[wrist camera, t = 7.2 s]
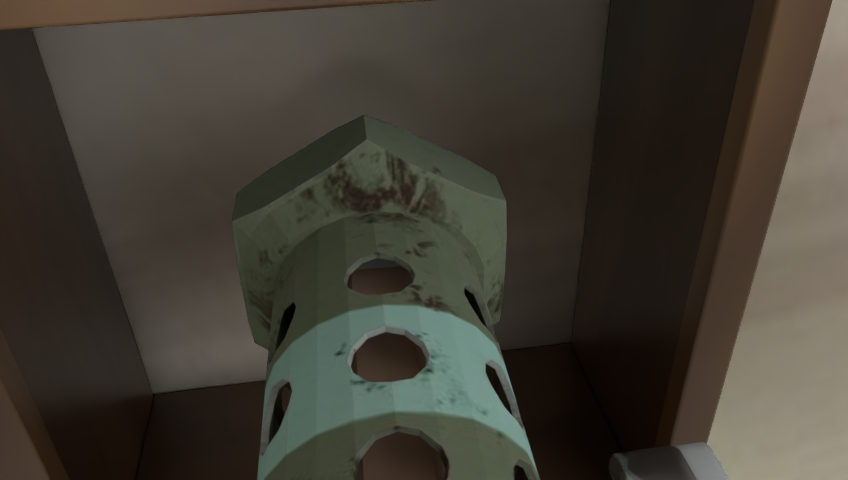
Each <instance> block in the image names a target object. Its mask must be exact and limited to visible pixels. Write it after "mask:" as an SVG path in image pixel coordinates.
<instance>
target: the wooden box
mask: <svg viewBox="0 0 848 480" xmlns="http://www.w3.org/2000/svg"><path fill="white" fill-rule="evenodd" d="M416 1H431V0H0V480H257V476H258V464H259V453H260V445H261V431H262V419H263V408H264V397H265V385H266V381H263V382H255V383H247V384H238V385H230V386H222V387H214V388H206V389H198V390H190V391H182V392H174V393H166V394H158V395H154V398H153V395H152V392H151V388H150V385H149V382H148V379H147V376H146V373H145V370H144V367H143V364H142V361H141V358H140V355H139V352H138V349H137V346H136V343H135V340H134V337H133V334H132V331H131V328H130V325H129V322H128V319H127V316H126V313H125V310H124V307H123V304H122V301H121V298H120V295H119V292H118V289H117V286H116V283H115V280H114V277H113V274H112V271H111V268H110V265H109V262H108V259H107V256H106V253H105V250H104V247H103V244H102V241H101V238H100V235H99V232H98V229H97V226H96V223H95V220H94V217H93V214H92V211H91V208H90V205H89V202H88V199H87V196H86V193H85V190H84V187H83V184H82V181H81V178H80V175H79V172H78V168H77V165H76V162H75V159H74V156H73V153H72V150H71V147H70V144H69V141H68V138H67V135H66V132H65V129H64V126H63V123H62V120H61V117H60V114H59V111H58V108H57V105H56V102H55V99H54V96H53V93H52V90H51V87H50V84H49V81H48V78H47V75H46V72H45V69H44V66H43V63H42V60H41V57H40V54H39V51H38V48H37V45H36V42H35V39H34V36H33V33H32V30H31V28H42V27H56V26H70V25H85V24H99V23H114V22H128V21H142V20H157V19H171V18H186V17H200V16H215V15H229V14H243V13H258V12H272V11H287V10H301V9H315V8H330V7H344V6H359V5H373V4H387V3H402V2H416ZM831 4H832V0H611V7H610V15H609V24H608V33H607V41H606V50H605V59H604V67H603V76H602V85H601V93H600V102H599V111H598V119H597V128H596V137H595V145H594V154H593V162H592V171H591V180H590V188H589V197H588V206H587V214H586V223H585V232H584V240H583V249H582V258H581V266H580V275H579V284H578V292H577V301H576V310H575V318H574V327H573V335H572V344H561V345H552V346H544V347H536V348H528V349H520V350H512V351H504V352H501V353H502V356H503V359H504V363H505V366H506V369H507V373H508V376H509V379H510V382H511V386H512V389H513V392H514V396H515V399H516V402H517V406H518V410H519V414H520V417H521V420H522V423H523V425H524V429H525V432H526V435H527V439H528V442H529V445H530V448H531V452H532V455H533V458H534V462H535V465H536V468H537V472H538V475H539V478H540V480H612V478H611V475H610V473H609V470H608V465H609V460H610V457H611V456H612V455H613V454H614V453H621V452H628V451H635V450H642V449H649V448H656V447H662V446H669V445H671V446H677V445H684V444H690V443H697V442H705V443H706V444H707V441H708V437H709V434H710V430H711V427H712V423H713V420H714V416H715V413H716V409H717V406H718V402H719V399H720V395H721V392H722V388H723V385H724V381H725V378H726V374H727V370H728V367H729V363H730V360H731V356H732V353H733V349H734V346H735V342H736V339H737V335H738V332H739V328H740V325H741V321H742V318H743V314H744V310H745V307H746V303H747V300H748V296H749V293H750V289H751V286H752V282H753V279H754V275H755V272H756V268H757V265H758V261H759V258H760V254H761V251H762V247H763V243H764V240H765V236H766V233H767V229H768V226H769V222H770V219H771V215H772V212H773V208H774V205H775V201H776V198H777V194H778V191H779V187H780V184H781V180H782V176H783V173H784V169H785V166H786V162H787V159H788V155H789V152H790V148H791V145H792V141H793V138H794V134H795V131H796V127H797V124H798V120H799V116H800V113H801V109H802V106H803V102H804V99H805V95H806V92H807V88H808V85H809V81H810V78H811V74H812V71H813V67H814V64H815V60H816V57H817V53H818V49H819V46H820V42H821V39H822V35H823V32H824V28H825V25H826V21H827V18H828V14H829V11H830V7H831ZM486 375H487V372H486ZM487 377H488V375H487ZM291 394H292V393H291V392H290V391H289V390H288V389H287V388H286V387H285V386H283V390H282V407H283V411H284V414H285V413H286V410H287V408H288V405H289V401H290V398H291Z"/></svg>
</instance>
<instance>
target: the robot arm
mask: <svg viewBox="0 0 848 480" xmlns="http://www.w3.org/2000/svg"><path fill="white" fill-rule="evenodd" d="M608 470H609V473H610V475H611V478H612V480H730V479H729V477H728V475H727V474H726V472H725V470H724V469H723V467H722V465H721V464H720V462H719V460H718V459H717V457H716V455H715V454H714V452H713V450H712V449H711V447H710V446H709V445H707V444H706V443H705V442H697V443H690V444H684V445H677V446H671V445H669V446H662V447H656V448H649V449H642V450H635V451H628V452H621V453H614V454H613V455H612V456H611V457H610V460H609V465H608Z"/></svg>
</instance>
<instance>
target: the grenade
mask: <svg viewBox="0 0 848 480" xmlns="http://www.w3.org/2000/svg"><path fill="white" fill-rule="evenodd" d="M232 228H233V236H234V243H235V251H236V258H237V264H238V269H239V274H240V280H241V285H242V290H243V295H244V300H245V305H246V310H247V316H248V321H249V324H250V328H251V331H252V335H253V338H254V341H255V343H256V344H258V345H260V346H262V347H264V348H266V349H268V350H269V354H268V363H267V374H266V385H265V397H264V408H263V419H262V431H261V445H260V453H259V464H258V476H257V480H540V478H539V475H538V472H537V468H536V465H535V462H534V458H533V455H532V452H531V448H530V445H529V442H528V439H527V435H526V432H525V429H524V425H523V423H522V420H521V417H520V414H519V410H518V406H517V402H516V399H515V396H514V392H513V389H512V386H511V382H510V379H509V376H508V373H507V369H506V366H505V363H504V359H503V356H502V353H501V349H500V346H499V343H498V340H497V337H496V334H495V331H494V327H493V326H494V325H495V324H496V323H498V322H499V320H500V315H501V309H502V303H503V293H504V276H505V260H506V243H507V217H506V199H505V197H504V195H503V192H502V190H501V187H500V185H499V183H498V180H497V178H496V175H494V174H492V173H491V172H489V171H487V170H485V169H483V168H482V167H480V166H478V165H476V164H475V163H473V162H471V161H469V160H467V159H466V158H464V157H462V156H460V155H458V154H455V153H453V152H451V151H449V150H447V149H445V148H442V147H440V146H438V145H436V144H434V143H432V142H429V141H427V140H425V139H423V138H421V137H418V136H416V135H414V134H412V133H410V132H408V131H405V130H403V129H401V128H399V127H396V126H394V125H391V124H388V123H385V122H382V121H379V120H377V119H374V118H371V117H368V116H365V115H363V116H361V117H359V118H357V119H355V120H353V121H351V122H349V123H347V124H345V125H343V126H341V127H339V128H337V129H334V130H332V131H331V132H329V133H327V134H326V135H324V136H322V137H321V138H319V139H318V140H316V141H314V142H313V143H311V144H310V145H308V146H306V147H305V148H303V149H301V150H300V151H298V152H297V153H295V154H293V155H292V156H290V157H289V158H287V159H285V160H284V161H282V162H280V163H279V164H277V165H276V166H274V167H272V168H271V169H269V170H268V171H266V172H265V173H264V174H262V175H261V176H260V177H258V178H257V179H256V180H254V181H253V182H252V183H250V184H249V185H247V186H246V187H245V188H243V189H242V190H241V191H239V192H238V193H237V196H236V201H235V206H234V212H233V217H232ZM486 372H487V375H488V377H487V375H486ZM283 386H285V387H286V388H287V389H288V390H289V391H290V392H291V393H292V394H291V398H290V401H289V405H288V408H287V410H286V413H285V414H284V411H283V407H282V390H283Z"/></svg>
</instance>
